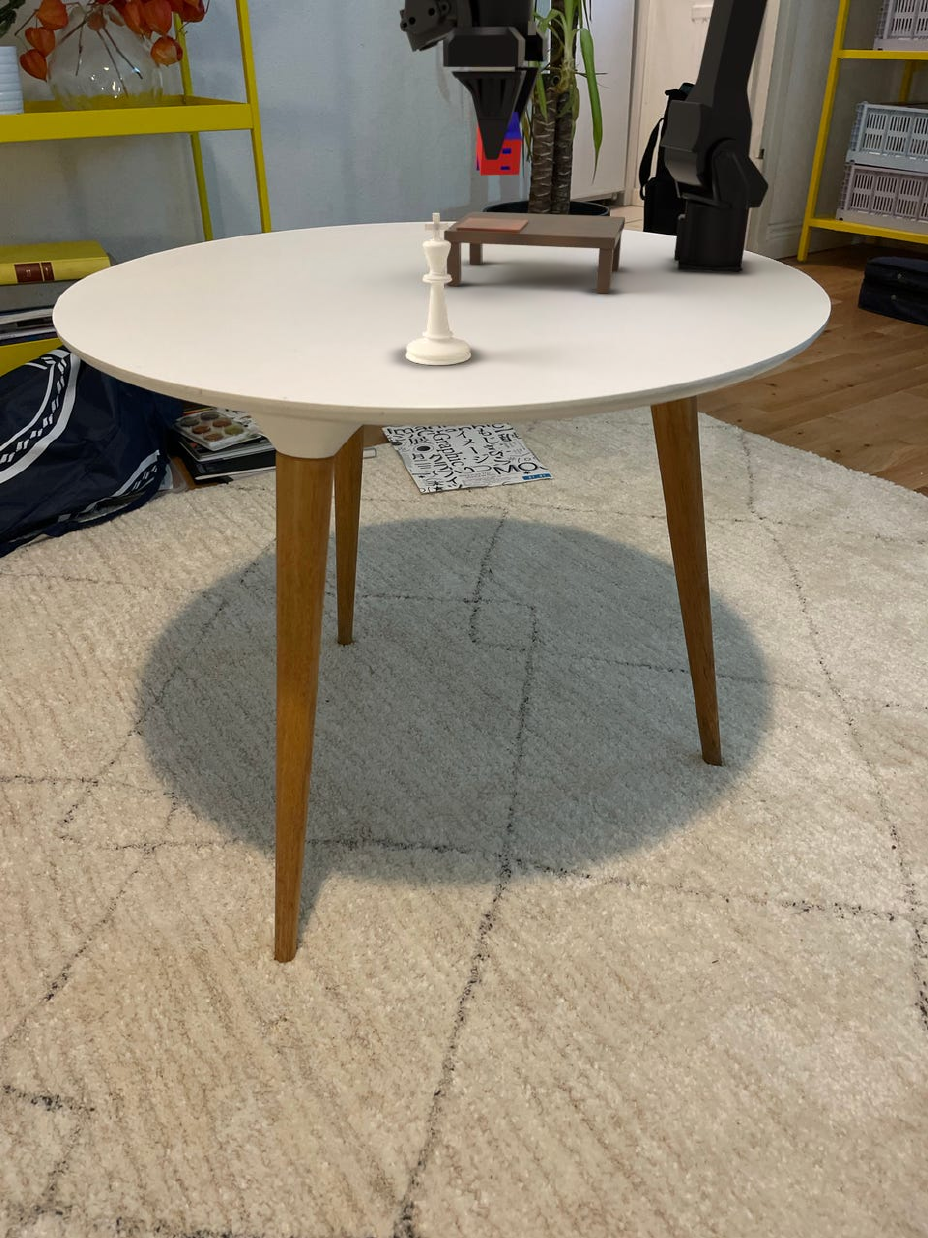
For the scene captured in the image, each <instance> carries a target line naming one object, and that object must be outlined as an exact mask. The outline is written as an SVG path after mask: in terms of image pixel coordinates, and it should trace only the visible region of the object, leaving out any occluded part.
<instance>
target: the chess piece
mask: <svg viewBox="0 0 928 1238" xmlns="http://www.w3.org/2000/svg"><path fill="white" fill-rule="evenodd" d="M440 217H441V215H440V212H432V222H424V223H423V226H424V231H432V232H433V233H432V234H433V237H432V238H430V239H427V240H425V241H424V242H423V243H422V249H423V252H424V255H425V257H426V262H427V265H428V267H429V270H430V271H428V272H429V273H426V274H424V275H423V276H422V277H423V278H422V282H423V283H427V284H430V291H429V292H430V293H429V305H428V317H427V324H426V330H425V331H423V332H422V336H423V337H419V338H417V339H414V340H412V341H410V342H409V343H408V344H407V345H406V347H405V348H406V353H405V358H406V359H407V360H408V361H410V362H412V363H416V364H421V365H427V366H447V365H448V366H449V365H456V364H460V363H463V362H466V361H467V360H469V359H470V358H471V357H472V353H471V351H470V350H471V346H470V344H469V343H468V342H467V341H465V340H463V339H460V338H457V337H454V334H455V333H454V332H453V331H451V330H450V324H449V320H448V319H449V318H448V311H447V302H446V294H445V284H447V283H448V282H450V281H452V278H451V275H449V274H447V272H446V271H445V268H446V266H447V257H448V254H449V252H450V248H451V243H450V242H449V241H447V240H444V238H443V237H442V238H441V231H445V230H449V227H450V226H449V225H450V223H449V222H447V221H446V222H443V221H442V222H441V221H440V220H441V218H440Z"/></svg>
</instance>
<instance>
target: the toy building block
mask: <svg viewBox="0 0 928 1238" xmlns="http://www.w3.org/2000/svg"><path fill="white" fill-rule="evenodd" d="M476 130H477V133H476V152H475V170H476V171H477V172H478V171H479V176H519V175H520V168H521V159H522V147H523V146H522V145H523V136H522V130H521V123H520V124H519V119H518V114H517V112H513V115H512V118H511V121H510V124H509V127H508V130H507V134H506V137H505V140H504V143H503V146H502V149H501V152H500V155H499V158H498V159H496V160H487V159H486V158H485V153H484V149H483V144H482V139H481V135H480V130H479V126H478V125H477V129H476Z"/></svg>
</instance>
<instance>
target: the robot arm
mask: <svg viewBox="0 0 928 1238" xmlns="http://www.w3.org/2000/svg"><path fill="white" fill-rule="evenodd" d="M768 2H769V0H713V3H712V8H711V12H710V17H709V21H708V26H707V31H706V36H705V41H704V47H703V50H702V55H701V60H700V65H699V69H698V75H697V79H696V81H695V84H694V86H693V87H692V89H691V90H690V92H689V94H688V95H687V97H686V99H685V100H684V101H683V100H675V99H672V100H671V101H670V103H669V107H668V111H667V124H666V129H665V133H664V135H663V137H662V139H661V141H660V143H659V146H661V147H664V158H663V159H664V160H663V161H664V166H665V167H666V169H667V170H668V172H669V174H670V175H671V177H672V178H673V179H674V185H675V188H676V194H677V197H678V198H680V199H686V202H685V211H684V214H682V213H681V214H680V215H679V216H678V218H677V228H676V236H675V247H674V257H673V260H674V261H675V262H677V269H678V270H682V271H683V270H684V271H702V272H703V271H704V272H705V271H706V272H725V273H726V272H727V273H742V272H743V270H744V263H743V257H744V250H745V244H746V238H747V237H746V236H747V231H748V222H749V215H750V209H751V208H760V207H761V206H762V203H763V201H764V199H765V196H766V195H767V192H768V191H769V188H770V187H769V183H768V181H767V180H766V179H765V177H764V175H762V173H761V171H760V170H759V169H758V166H757V165H756V164H755V163H754V161H753V160H752V158H751V157H750V155H751V154H750V153H751V146H752V145H751V144H752V136H753V135H752V133H753V127H754V126H753V117H752V111H751V110H752V109H751V104H750V98H749V94H748V93H749V90H748V89H749V82H750V79H751V73H752V69H753V65H754V61H755V57H756V53H757V48H758V44H759V39H760V35H761V32H762V26H763V22H764V19H765V13H766V9H767V7H768V6H767V5H768ZM399 16H400V19H401V20H400V24H399V27H400V29H401V31H402V32H405V33H406V37H407V39H408V43H409V45H410V48H411V52H413V53H415V52H417V50H418V51H419V52H424V51H427V50H430V49H432V48H434V47H436V46H438V44H439V43H440V42H441V41H442V67H443V68H467V70H465V69H464V70H462V69H461V70H460V69H459V70H458V69H456V70H451V75H452V76H453V77H454V79H457V80H458V81H459V82H460V84H462V85H463V87H464V88H465V89H466V90H468V92H469V93H470V96H471V99H472V102H473V108H474V112H475V116H476V120H477V127H478V126H479V130H480V135H481V139H482V144H483V149H484V153H485V158H486V159H487V160H496V159H498V158H499V155H500V152H501V149H502V146H503V143H504V140H505V137H506V134H507V130H508V127H509V124H510V121H511V118H512V115H513V112H517V114H518V119H519V124H520V125H521V123H522V120H523V117H524V115H525V112H526V110H527V107H528V105H529V102H530V99H531V97H532V94H533V92H534V89H535V86H536V84H537V82H538V79H539V77H540V74H541V73H542V70H543V66H527V65H528V64H527V63H528V62H537V63H544V62H548V48H549V47H548V45H549V42H548V41H549V39H548V37H547V36H546V35H545V33H544V32H543V31H542V30H541V28H540V27H537V21H534V0H404V8H402V9H400V10H399Z"/></svg>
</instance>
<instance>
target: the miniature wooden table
mask: <svg viewBox="0 0 928 1238" xmlns="http://www.w3.org/2000/svg"><path fill="white" fill-rule="evenodd" d="M625 222H626V217H625V216H611V215H610V216H608V215H585V214H584V215H582V214H554V213H553V214H551V213H525V212H521V213H520V212H498V211H497V212H494V211H470V212H468V213H466V214H465V215H464V216H462V217H461V218H459V220H457V221H455V222H454V223H453V224H452V225H450V226H449V230H443V240H447V241H449V242H450V243H451V248H450V252H449V254H448V257H447V262H446V274H449V275H451V278H452V281H450V282H448V283H446V286H447V287H460V285H462V244H469V245H468V247H469V248H468V249H469V252H468V253H469V255H468V257H469V260H468V261H469V262H468V263H469V265H474V266H475V265H477V266H480V265H482V264H483V262H484V261H483V259H484V257H483V255H484V253H483V252H484V251H483V250H484V245H500V246H501V245H502V246H503V245H504V246H529V247H550V248H551V247H553V248H573V249H574V248H575V249H576V248H577V249H579V248H580V249H599V250H598V263H597V275H596V278H597V279H596V294H604V295H605V294H608V295H609V294H610V292H611V286H612V285H611V283H612V272H618V271H619V270H620V259H621V246H622V245H621V244H622V234H623V231H624V228H625V224H626V223H625Z"/></svg>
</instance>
